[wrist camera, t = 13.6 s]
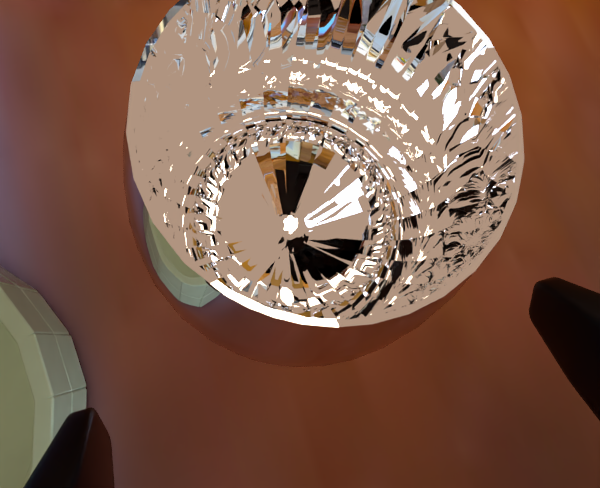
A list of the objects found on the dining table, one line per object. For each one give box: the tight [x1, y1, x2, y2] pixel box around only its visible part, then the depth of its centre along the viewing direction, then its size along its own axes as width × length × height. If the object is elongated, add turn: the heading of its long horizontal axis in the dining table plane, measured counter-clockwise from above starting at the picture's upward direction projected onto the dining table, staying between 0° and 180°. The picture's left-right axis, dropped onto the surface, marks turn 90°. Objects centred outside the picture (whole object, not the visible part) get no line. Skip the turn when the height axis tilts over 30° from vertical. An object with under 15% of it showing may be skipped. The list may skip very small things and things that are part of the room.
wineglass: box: [123, 0, 524, 367], centre depth 12 cm, size 6×6×12 cm
